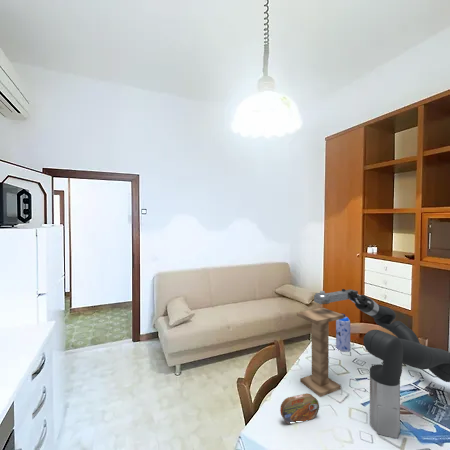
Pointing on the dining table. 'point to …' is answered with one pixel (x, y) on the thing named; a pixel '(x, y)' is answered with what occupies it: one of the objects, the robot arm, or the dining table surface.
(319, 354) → the walnut stand
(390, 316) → the robot arm
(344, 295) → the ratchet
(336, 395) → the dining table surface
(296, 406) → the tin
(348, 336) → the aerosol can
